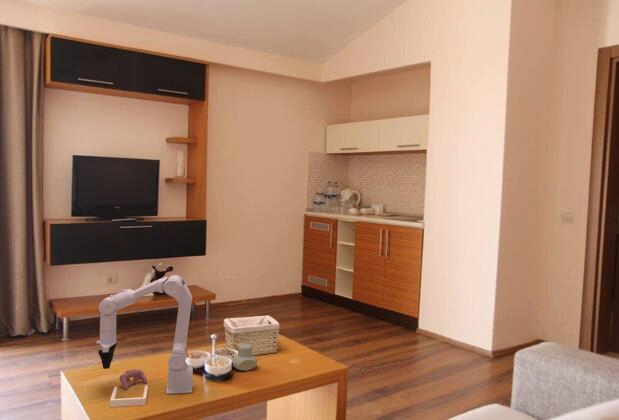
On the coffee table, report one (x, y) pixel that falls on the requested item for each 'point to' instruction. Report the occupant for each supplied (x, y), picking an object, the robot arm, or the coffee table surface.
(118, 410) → the coffee table surface
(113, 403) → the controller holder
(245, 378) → the coffee table surface
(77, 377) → the coffee table surface
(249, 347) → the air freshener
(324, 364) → the coffee table surface
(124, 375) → the video game controller
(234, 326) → the storage basket
